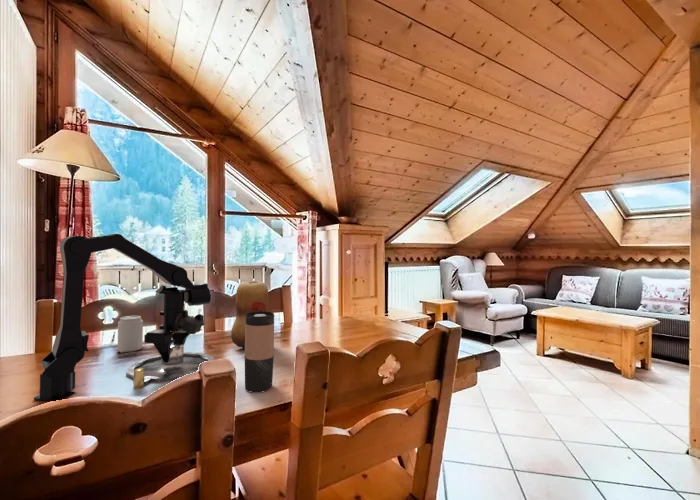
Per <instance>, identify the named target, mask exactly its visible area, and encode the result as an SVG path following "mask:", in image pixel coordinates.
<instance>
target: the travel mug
mask: <svg viewBox="0 0 700 500" xmlns="http://www.w3.org/2000/svg"><path fill="white" fill-rule="evenodd" d="M274 355H275V313H274V312H272V311H268V310H267V311H257V312H250V313H247V314H246V328H245V348H244V388H245V389H244V390H245V391H246V390H248V391H252V392H260V393H263V392H262V391H265V392H267V391H266V390H268V389H270V388H271V387H273V376H274V375H273V373H274V361H275V359H274ZM271 389H272V388H271ZM271 389H270V390H271ZM248 391H247V392H248ZM268 391H269V390H268ZM252 392H251V393H252Z"/></svg>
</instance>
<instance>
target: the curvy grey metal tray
mask: <svg viewBox="0 0 700 500" xmlns="http://www.w3.org/2000/svg"><path fill="white" fill-rule="evenodd" d="M210 360H214V361H215V359H214V356H212V355H209V354H206V353H203V352H192V351H190V352H189V351H184V362H183V363H181V364H177V365H171V366H166V365H162V364H161V363H162V357H161V355H160V354H158V355H154V356H153V355H152V356H150V357H145V358H142V359H140V360H138V361H136V362H134V363H131V364H129V366H128V368H127V370H126V373H125V377H128V378H129V379H132V380H133V389H135V390H138V389H143V388H144V387H145V386H147V385H148V384H150V383H159V384H160V383H165V382H173V380H175V379H177V378H179V377H182V376H184V375H186V374H190V373H193V372H196V371H197V370H198V367H199V364H200V363H202V362H204V361H210ZM175 381H176V380H175Z"/></svg>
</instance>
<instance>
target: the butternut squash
mask: <svg viewBox="0 0 700 500" xmlns="http://www.w3.org/2000/svg"><path fill="white" fill-rule="evenodd" d="M235 293H236V294H235V313H236V315H235V319H234V322H233V324H232V328H231V330H230V331H231V333H230V336H231V341H232V342H233V343H234V345H236V346H237V347H238V348H243V349H245V328H246V314H247V313H250V312H257V311H267V312H268V309H269V288H268V285H266V283H265V282H263V281H261V280H257V279H256V280H245V281H243V282H241V283H240V284H239V285H238V286H237V288H236V292H235Z"/></svg>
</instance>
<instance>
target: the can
mask: <svg viewBox="0 0 700 500" xmlns="http://www.w3.org/2000/svg"><path fill="white" fill-rule="evenodd" d="M143 332H144V320H143V319H142V316H140V315H126V316H122V317H120V318H119V321H118V322H117V351H118V352H120V353H121V354H122V353H126V352H136V351H139V350H141V349H142V348H143V342H144V335H143V334H144V333H143Z"/></svg>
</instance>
